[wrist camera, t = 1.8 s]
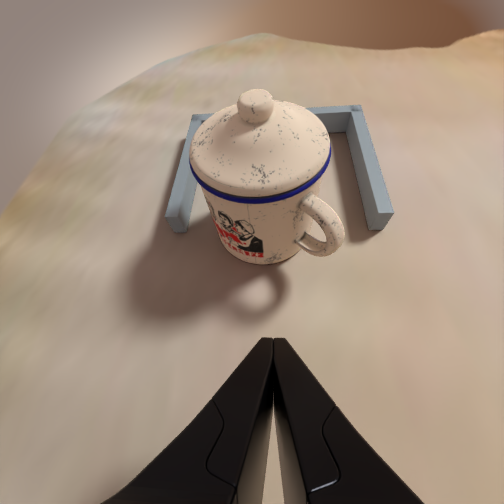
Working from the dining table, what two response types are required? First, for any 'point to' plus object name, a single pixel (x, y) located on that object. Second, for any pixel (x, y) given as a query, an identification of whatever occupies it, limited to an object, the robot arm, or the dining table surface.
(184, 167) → the dock
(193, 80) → the dining table surface
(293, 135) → the teacup with lid
